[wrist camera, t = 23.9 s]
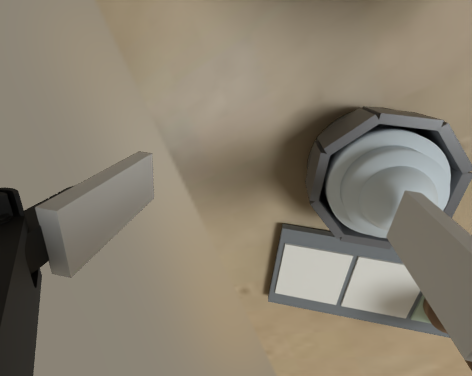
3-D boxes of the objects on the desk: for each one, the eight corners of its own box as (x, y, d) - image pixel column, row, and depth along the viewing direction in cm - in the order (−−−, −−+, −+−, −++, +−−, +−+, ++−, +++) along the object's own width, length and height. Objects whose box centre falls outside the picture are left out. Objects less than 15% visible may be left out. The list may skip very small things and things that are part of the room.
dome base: (321, 100, 19) (331, 107, 15) (450, 115, 18) (497, 126, 14) (297, 206, 23) (301, 234, 19) (404, 223, 22) (431, 256, 18)
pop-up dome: (336, 119, 17) (359, 137, 12) (451, 133, 17) (525, 158, 12) (313, 212, 20) (323, 257, 15) (410, 228, 20) (454, 280, 15)
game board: (282, 223, 24) (282, 229, 23) (520, 263, 22) (530, 271, 21) (268, 295, 28) (267, 302, 27) (470, 335, 26) (477, 344, 25)
